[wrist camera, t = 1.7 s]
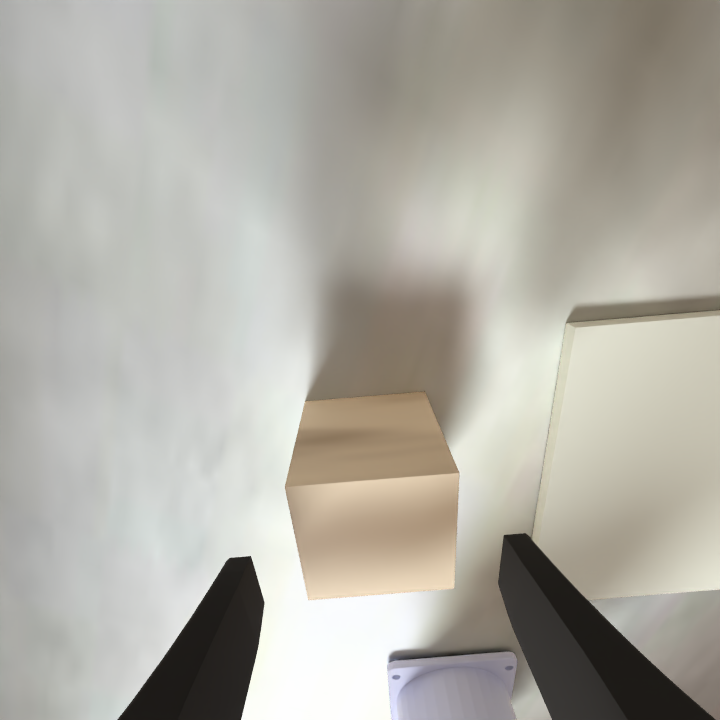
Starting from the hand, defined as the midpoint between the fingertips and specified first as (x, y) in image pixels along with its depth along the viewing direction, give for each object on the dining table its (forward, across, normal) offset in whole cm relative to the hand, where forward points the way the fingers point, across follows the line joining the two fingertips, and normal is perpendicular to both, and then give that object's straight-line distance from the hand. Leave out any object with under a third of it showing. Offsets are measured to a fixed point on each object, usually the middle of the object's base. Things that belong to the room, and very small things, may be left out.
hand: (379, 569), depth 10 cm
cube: (+6, 0, 0) cm, 6 cm away
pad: (+6, -16, +3) cm, 17 cm away
